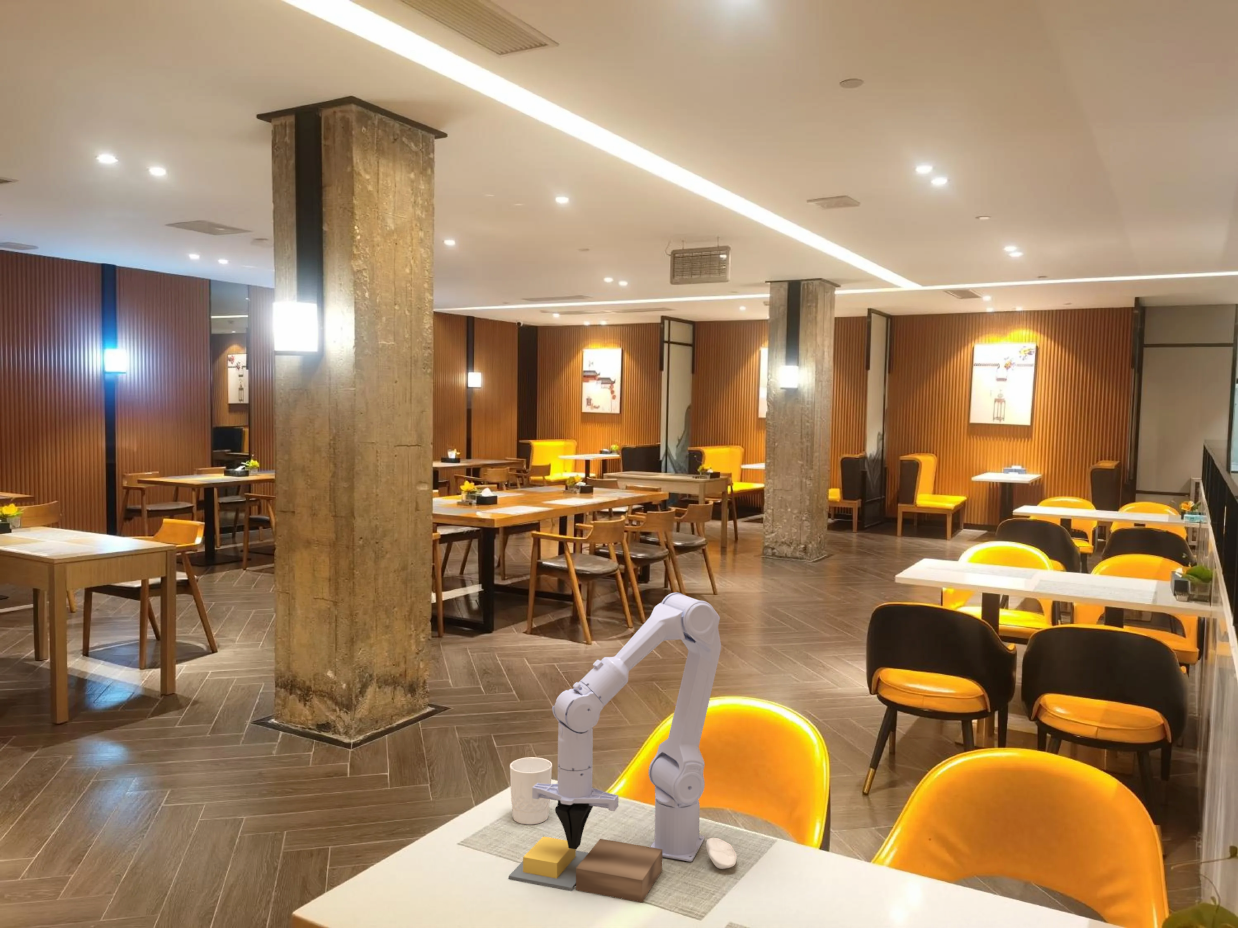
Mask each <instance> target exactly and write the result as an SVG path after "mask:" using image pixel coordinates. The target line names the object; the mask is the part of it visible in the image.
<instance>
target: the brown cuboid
mask: <svg viewBox="0 0 1238 928" xmlns="http://www.w3.org/2000/svg"><path fill="white" fill-rule="evenodd" d="M662 850H663V849H658V848H652V847H650V846H646V845H639V844H633V843H629V842H628V843H627V842H622V841H616V840H610V839H604V838H599V839H598V841H597V842H596V843H595V844H594V846H593V847H592V848H591V850H589V852H588V854H587V855H586V857H585V858H584V859H583V860H582V862H581V863H580V864H579V865H578V866H577V868H576V886H575V891H580V892H586V893H589V894H595V895H600V896H601V895H602V896H604V897H605V896H606V897H610V896H611V897H612V898H615V897H616V898H617V899H621V898H622V900H627V901H632V902H637V903H644V901H645V900H646V897H647V896H648V894H649V892H650V891H651V889H652V887H653V886H654V884H655V882H656V881H657V879H658V878H659V876H660V874H661V873H662V871H663V857H662ZM649 890H650V891H649ZM646 895H647V896H646ZM611 897H610V898H611Z"/></svg>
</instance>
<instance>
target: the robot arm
mask: <svg viewBox="0 0 1238 928" xmlns="http://www.w3.org/2000/svg"><path fill="white" fill-rule="evenodd" d="M720 619H721V617H720V615H719V614H718V612H717V611H716V610H715V608H714V607H713V605H712V604H710V603H709V602H707V601H705V600H699V599H696V598H693V597H690V596H687V595H685V594H683V593H681V592H672V593H669V594H668V595H666V596H665V597H664V598H663V600H662V601H661V602H660V603H658V604H657V605H655V606H654V607H653V610H652V612H651V614H650V616H649V618H647V620H646V621H645V622H644V623H643V624H642V625H641V626H640V627H639V628H638V630H636V632H635V633H634V634H633V636H632V637H631V638H629V640H628V641H627V642H626V643H625V644H624V646H622V648H621V649H619V650H618V652H617V654H616V655H614V656H604V657H602V659H601V660H600V659H596V660H595V661H594V662H593V664H592V666H593V668H592V669H590V670H589V671H588V672H587V673H586V674H585V675H584V677H583V678H581V679H580V681H576V682H575V683H574V684H573V685H572V688H569V689H565V690H564V691H562V692H561V693H560V694H559V695H558V696H557V698H556V700H555V703H554V705H552V707H551V709H552V711H551V712H552V714H553V716H554V718H555V719H556V720H557V722H558V726H557V731H558V732H557V733H558V735H557V783H551V784H541V783H537V784H536V785H534V786H533V787H532V798H533V799H539V798H544V799H550V801H557V805H556V806H555V807H554V811H555V814H556V816H557V817H558V819H559V822H560V823H561V826H562V828H563V830H564V831H563V832H564V834H565V837H566V840H567V843H568V848H571V849H576V850H577V849H578V848H579V847H580V846H581V842H582V837H583V832H584V829H585V827H586V823H587V821H588V819H589V816H590V814H591V811H592V809H593V807H597V808H602V809H608V811H611V812H615V811H616V810H617V808H618V807H619V795H618V794H615V793H614V794H613V793H610V792H606V791H603V790H601V789H598V788H594V787H593V762H594V761H593V756H594V755H593V754H594V753H593V752H594V751H593V750H594V749H593V748H594V747H593V744H594V742H593V741H594V737H593V732H594V730H593V727H595V726H597V724H598V722H599V720H600V716H601V712H602V711H603V709H604V707H605V706H606V705H607V704H608V703H609V702H610V701H611V700H612V699H613V698H614V697H615V696H616V695H617V694H618V693H619V692H620V691H621V690H622V689H623V688H624V687H625V686H626V685H627V684H628V682H629V676H630V675H629V672H630V671H631V670H632V669H633V668H634V667H636V665H638V664H639V663H640V662H641V661H642V660H643V659H644V658H645V657H647V656H648V655H649V654H650V653H651V652H652V651H653V650H655V649H656V648H657V647H658V646H659V645H660V644H662V642H665V641H675V640H676V641H677V640H681V642H682V643H683V644H684V647H686V649H687V656H686V659H685V664H684V668H683V672H682V678H681V682H680V686H679V691H678V695H677V698H676V703H675V706H674V707H675V708H674V712H673V717H672V720H671V725H670V729H669V733H668V738H666V739H665V740H664V741H663V742H661V743H660V744H659V745H658V749H657V752H656V754H655V756H654V758H652V760H651V762H650V764H649V766H648V777H649V780H650V782H651V784H653V786H654V793H655V794H654V795H655V796H654V797H655V798H654V840H653V842H652V843H651V845H650V846H649V847H652V848H658V849H663V850H662V858H665V859H666V858H667V859H672V860H679V861H683V862H684V861H686V862H692V861H693V860H694V859H695V856H696V855H697V853H698V852H699V850H700V849H701V846H702V844H703V843H704V840H705V835H701V834H700V816H701V815H700V811H701V809H700V800H699V799H700V798H701V797H702V795H703V793H704V791H705V783H706V782H705V777H704V769H705V760H704V757H703V754H702V753H701V751H700V750H701V749H700V742H701V738H702V734H703V729H704V725H705V720H706V716H707V712H708V707H709V704H710V700H711V696H712V695H711V694H712V690H713V686H714V681H715V678H716V672H717V669H718V664H719V660H720V656H721V655H720V654H721V651H722V642H721V637H720V631H719V624H720Z"/></svg>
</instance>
